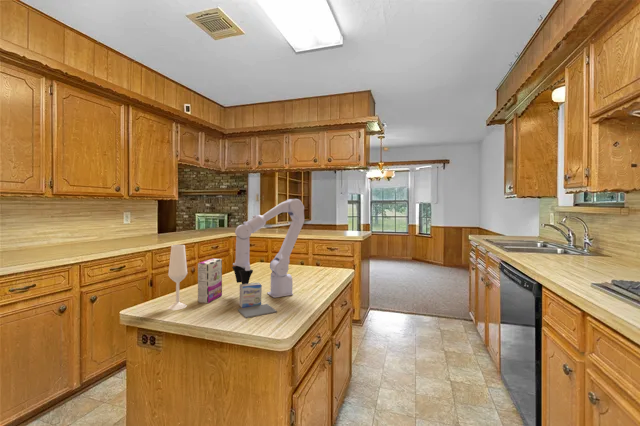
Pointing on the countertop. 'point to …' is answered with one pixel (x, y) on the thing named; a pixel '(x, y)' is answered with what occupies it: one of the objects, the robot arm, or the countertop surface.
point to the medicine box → (250, 294)
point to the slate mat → (256, 310)
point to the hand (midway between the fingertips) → (242, 284)
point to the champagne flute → (177, 271)
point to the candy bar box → (209, 280)
